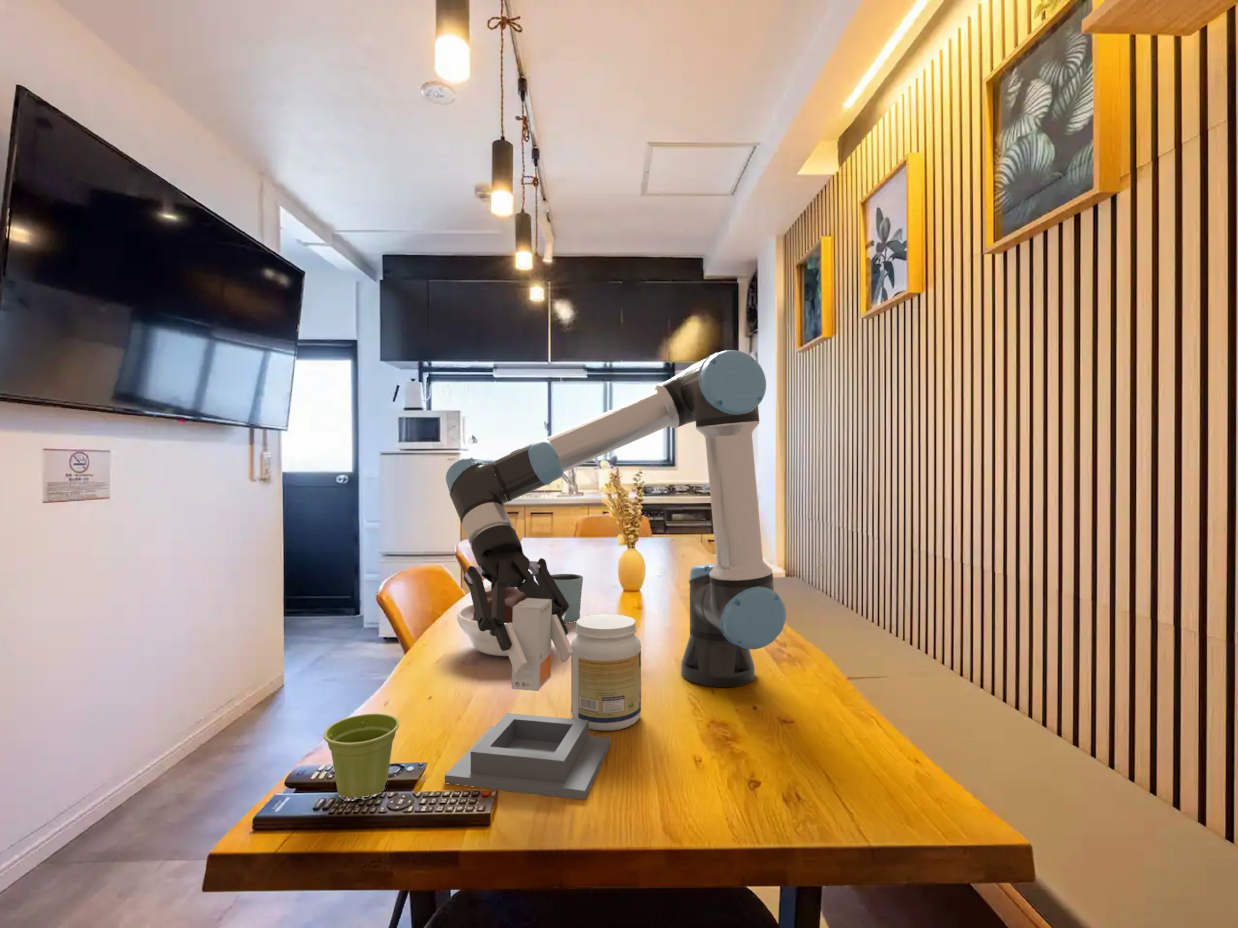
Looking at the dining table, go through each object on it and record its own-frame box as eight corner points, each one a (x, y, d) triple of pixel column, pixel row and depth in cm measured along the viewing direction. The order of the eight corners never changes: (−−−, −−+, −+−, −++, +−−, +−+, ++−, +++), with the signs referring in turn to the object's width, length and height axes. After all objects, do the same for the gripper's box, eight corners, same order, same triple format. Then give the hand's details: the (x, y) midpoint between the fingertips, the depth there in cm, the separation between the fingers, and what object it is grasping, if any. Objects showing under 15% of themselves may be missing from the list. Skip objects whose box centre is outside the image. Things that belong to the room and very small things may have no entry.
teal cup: (542, 622, 171) (542, 579, 171) (552, 613, 181) (552, 572, 181) (578, 624, 170) (578, 580, 170) (586, 615, 180) (586, 573, 180)
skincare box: (539, 691, 89) (539, 607, 89) (511, 689, 90) (511, 606, 90) (552, 677, 95) (552, 598, 95) (525, 675, 96) (525, 597, 96)
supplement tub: (654, 723, 106) (654, 624, 106) (590, 739, 100) (590, 633, 100) (619, 699, 117) (619, 608, 117) (559, 712, 111) (559, 616, 111)
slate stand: (610, 745, 98) (610, 718, 98) (585, 799, 83) (585, 767, 83) (490, 733, 102) (491, 708, 102) (444, 783, 87) (444, 753, 87)
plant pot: (353, 818, 78) (353, 749, 78) (309, 796, 83) (308, 731, 83) (413, 785, 86) (413, 722, 86) (370, 767, 91) (370, 708, 91)
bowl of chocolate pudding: (576, 638, 157) (576, 578, 157) (548, 671, 132) (548, 600, 132) (482, 633, 161) (482, 574, 161) (437, 664, 137) (437, 595, 137)
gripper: (536, 546, 110) (590, 662, 98) (426, 557, 98) (472, 691, 85) (553, 519, 106) (611, 635, 94) (440, 526, 94) (490, 662, 81)
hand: (545, 662), depth 90 cm, fingers closed on skincare box, 7 cm apart
